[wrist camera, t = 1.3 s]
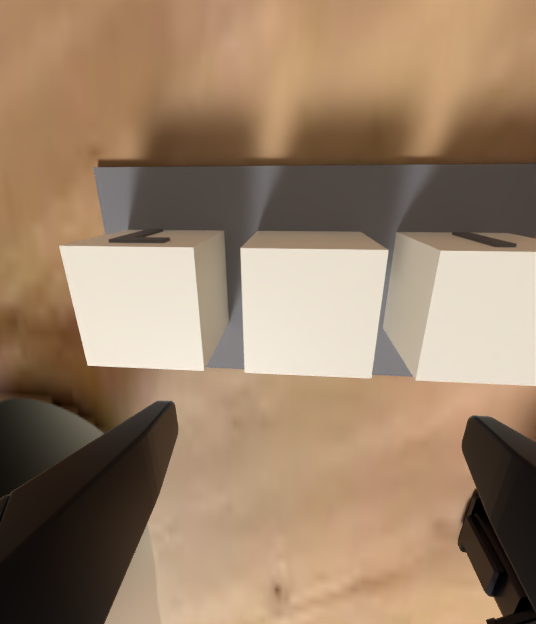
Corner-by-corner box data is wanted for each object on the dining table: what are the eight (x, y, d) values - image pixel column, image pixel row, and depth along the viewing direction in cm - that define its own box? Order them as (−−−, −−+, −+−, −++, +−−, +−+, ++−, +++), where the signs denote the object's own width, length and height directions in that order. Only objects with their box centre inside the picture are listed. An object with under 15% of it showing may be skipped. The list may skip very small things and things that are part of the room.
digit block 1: (508, 230, 17) (607, 248, 12) (481, 331, 20) (553, 386, 14) (396, 229, 18) (441, 246, 12) (382, 327, 20) (415, 380, 15)
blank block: (360, 231, 18) (388, 250, 13) (350, 326, 20) (371, 378, 15) (257, 230, 19) (240, 248, 13) (258, 323, 21) (244, 372, 15)
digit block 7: (224, 227, 19) (193, 243, 13) (228, 322, 21) (204, 370, 15) (127, 227, 19) (58, 242, 14) (142, 320, 21) (87, 365, 16)
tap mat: (551, 163, 16) (557, 163, 16) (488, 376, 21) (492, 380, 21) (97, 167, 19) (93, 167, 18) (132, 361, 23) (129, 363, 23)
